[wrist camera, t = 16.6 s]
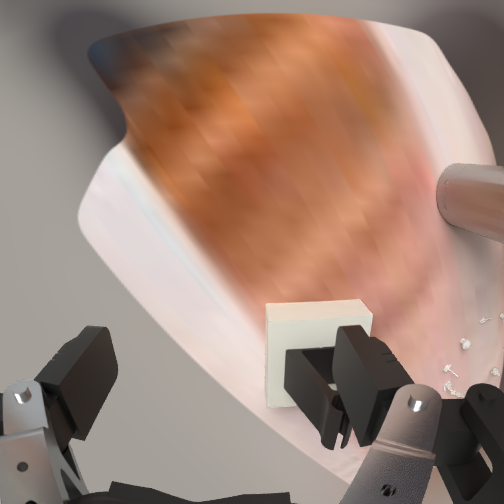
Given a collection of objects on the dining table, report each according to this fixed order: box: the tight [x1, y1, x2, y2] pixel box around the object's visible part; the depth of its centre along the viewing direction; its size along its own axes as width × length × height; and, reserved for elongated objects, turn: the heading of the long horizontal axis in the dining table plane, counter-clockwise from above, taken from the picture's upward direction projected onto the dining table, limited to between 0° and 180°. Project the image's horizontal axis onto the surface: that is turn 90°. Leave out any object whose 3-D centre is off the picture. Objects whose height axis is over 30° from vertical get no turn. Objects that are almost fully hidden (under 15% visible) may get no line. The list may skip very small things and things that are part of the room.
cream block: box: [265, 299, 373, 408], centre depth 40 cm, size 13×14×5 cm
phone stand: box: [284, 346, 352, 450], centre depth 31 cm, size 9×6×12 cm, turn 90°
